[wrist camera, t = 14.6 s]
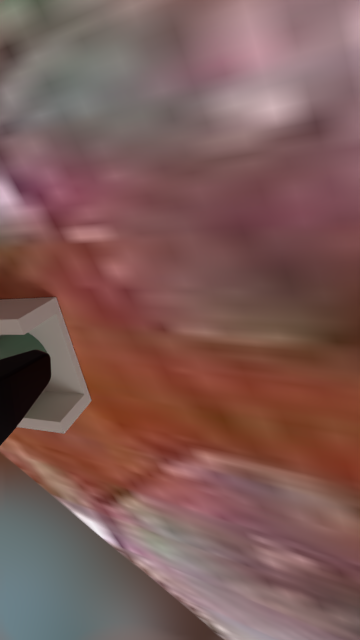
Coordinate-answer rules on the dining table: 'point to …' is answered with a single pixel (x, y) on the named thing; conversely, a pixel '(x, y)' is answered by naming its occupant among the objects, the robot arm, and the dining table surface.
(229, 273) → the dining table surface
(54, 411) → the u rest
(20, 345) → the glass bottle
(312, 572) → the dining table surface
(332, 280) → the dining table surface
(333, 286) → the dining table surface
